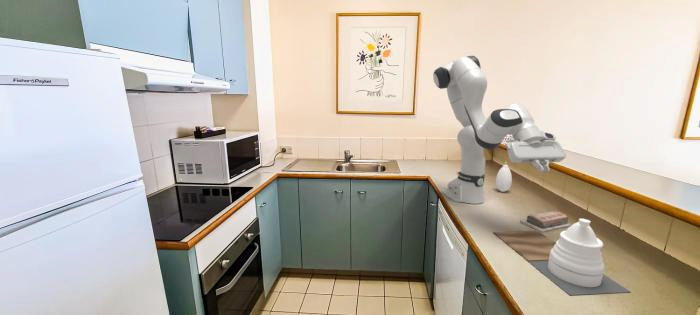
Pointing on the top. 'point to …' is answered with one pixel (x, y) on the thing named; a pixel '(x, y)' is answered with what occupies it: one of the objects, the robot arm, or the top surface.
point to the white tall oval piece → (504, 179)
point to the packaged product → (546, 221)
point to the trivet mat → (572, 289)
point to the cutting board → (528, 244)
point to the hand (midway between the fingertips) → (545, 171)
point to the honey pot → (578, 256)
